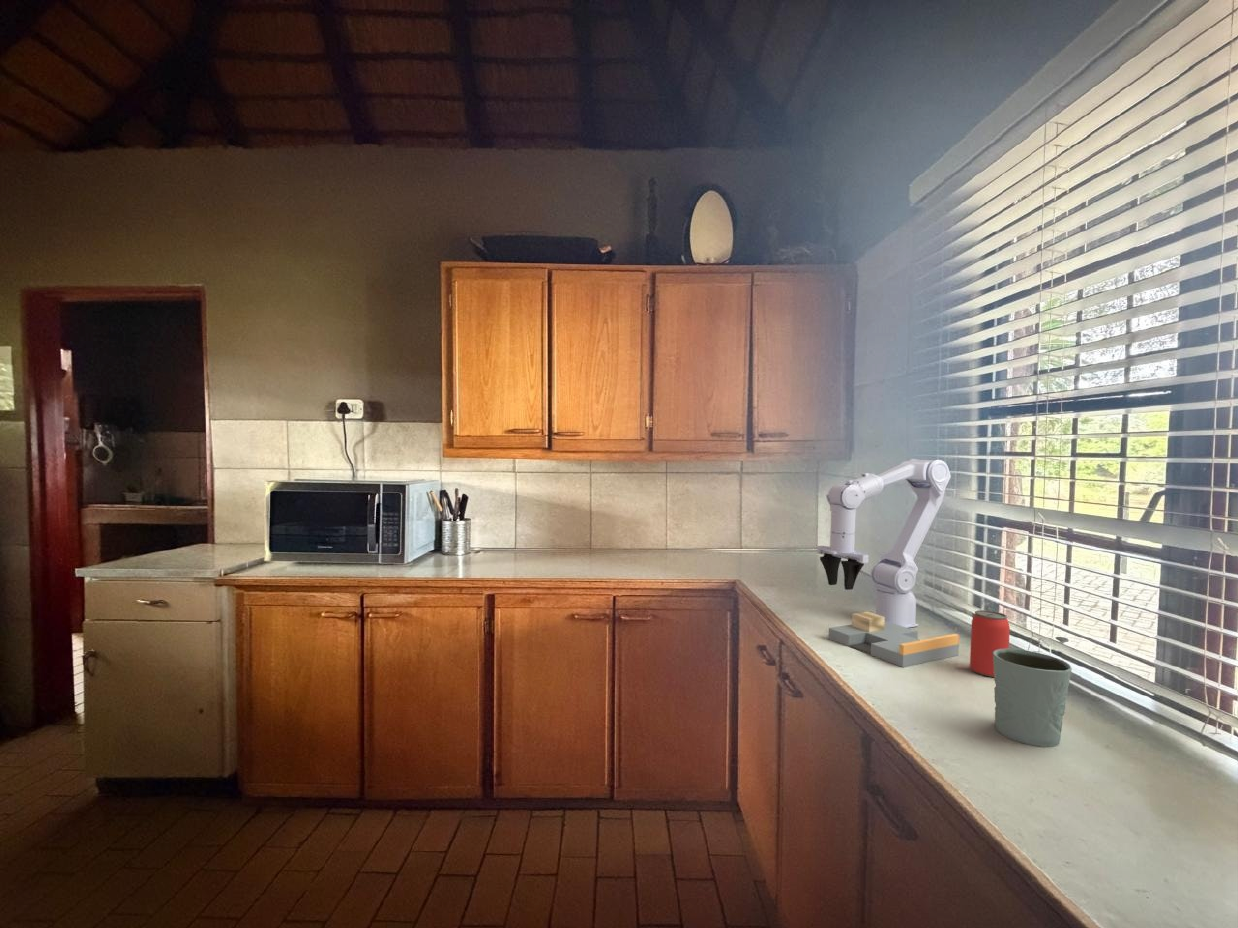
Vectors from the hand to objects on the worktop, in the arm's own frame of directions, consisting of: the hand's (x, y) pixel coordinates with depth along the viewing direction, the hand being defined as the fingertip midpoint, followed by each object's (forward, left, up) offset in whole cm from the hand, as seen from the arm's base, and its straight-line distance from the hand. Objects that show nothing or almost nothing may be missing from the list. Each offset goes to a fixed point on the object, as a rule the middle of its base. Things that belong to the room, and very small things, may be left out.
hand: (840, 586), depth 148 cm
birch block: (0, +9, -8) cm, 12 cm away
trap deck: (0, +15, -10) cm, 18 cm away
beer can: (-5, +34, -11) cm, 36 cm away
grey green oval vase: (+16, +53, -11) cm, 56 cm away
